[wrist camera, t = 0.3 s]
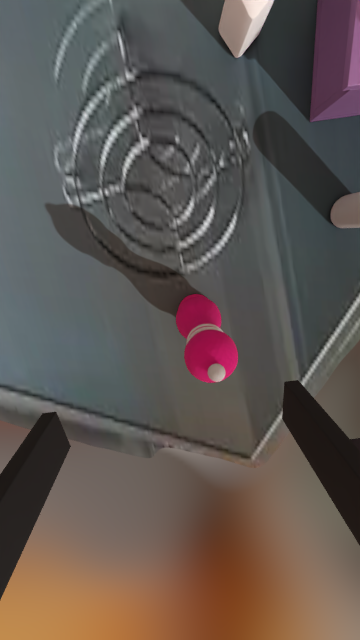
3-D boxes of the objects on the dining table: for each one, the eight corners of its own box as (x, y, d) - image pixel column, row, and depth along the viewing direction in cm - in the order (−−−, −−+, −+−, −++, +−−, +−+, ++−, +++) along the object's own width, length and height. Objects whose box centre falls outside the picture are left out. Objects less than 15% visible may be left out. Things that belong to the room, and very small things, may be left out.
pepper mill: (197, 336, 42) (220, 418, 23) (167, 313, 40) (165, 383, 21) (223, 307, 40) (270, 371, 22) (193, 282, 38) (216, 329, 20)
